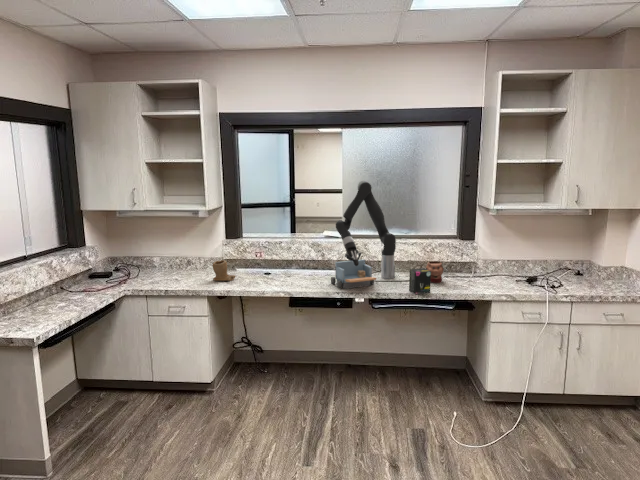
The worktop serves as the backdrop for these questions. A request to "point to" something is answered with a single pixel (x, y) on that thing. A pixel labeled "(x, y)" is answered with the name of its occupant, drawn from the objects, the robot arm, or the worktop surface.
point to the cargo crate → (361, 273)
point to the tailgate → (360, 279)
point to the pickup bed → (351, 274)
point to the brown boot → (221, 271)
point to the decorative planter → (435, 271)
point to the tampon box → (420, 281)
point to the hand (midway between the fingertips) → (357, 265)
